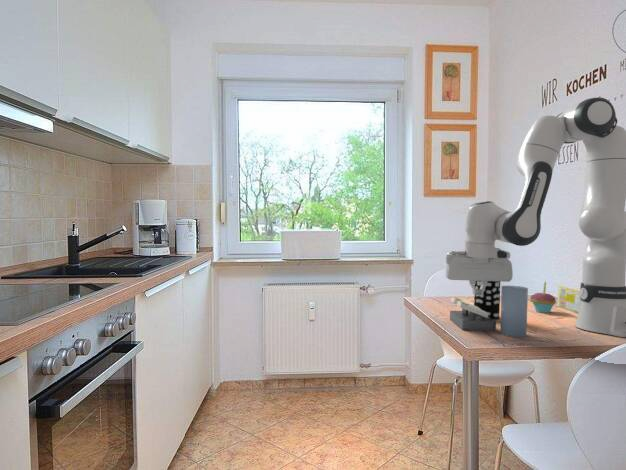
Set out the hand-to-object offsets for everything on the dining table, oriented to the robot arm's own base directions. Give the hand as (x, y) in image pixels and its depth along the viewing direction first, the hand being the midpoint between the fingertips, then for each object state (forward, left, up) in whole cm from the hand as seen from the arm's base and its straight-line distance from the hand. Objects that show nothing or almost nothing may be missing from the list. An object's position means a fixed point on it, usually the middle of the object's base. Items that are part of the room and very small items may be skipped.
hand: (477, 294), depth 133 cm
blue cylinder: (-7, +10, -10) cm, 16 cm away
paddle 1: (+3, -3, -4) cm, 6 cm away
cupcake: (-32, -24, -10) cm, 41 cm away
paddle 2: (+3, +4, -4) cm, 6 cm away
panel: (+2, 0, -10) cm, 10 cm away
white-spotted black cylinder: (-7, -12, -10) cm, 17 cm away
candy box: (-45, -28, -10) cm, 54 cm away
